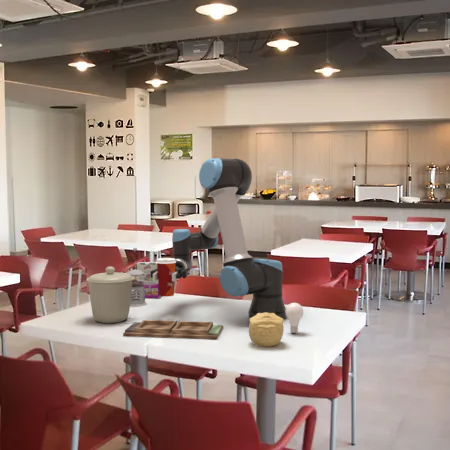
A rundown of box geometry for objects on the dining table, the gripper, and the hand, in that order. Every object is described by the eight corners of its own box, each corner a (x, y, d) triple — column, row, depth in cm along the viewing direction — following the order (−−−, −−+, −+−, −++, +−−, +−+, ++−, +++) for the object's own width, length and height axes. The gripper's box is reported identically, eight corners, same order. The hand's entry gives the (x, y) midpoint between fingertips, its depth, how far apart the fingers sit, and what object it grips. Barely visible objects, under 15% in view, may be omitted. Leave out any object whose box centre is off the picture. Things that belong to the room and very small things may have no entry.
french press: (128, 301, 265) (127, 246, 264) (153, 302, 264) (152, 246, 262) (121, 306, 256) (120, 248, 254) (147, 307, 254) (146, 249, 252)
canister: (111, 312, 243) (110, 262, 241) (144, 318, 233) (143, 265, 231) (77, 321, 228) (76, 267, 227) (110, 328, 218) (109, 271, 216)
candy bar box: (162, 296, 277) (162, 261, 276) (159, 298, 272) (159, 263, 271) (139, 295, 279) (139, 261, 278) (136, 298, 274) (135, 262, 273)
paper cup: (175, 297, 224) (175, 260, 223) (155, 297, 224) (154, 260, 223) (177, 293, 231) (177, 257, 231) (158, 293, 232) (157, 257, 231)
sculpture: (249, 349, 190) (249, 316, 190) (247, 339, 202) (247, 308, 201) (285, 349, 190) (285, 316, 190) (281, 339, 202) (281, 308, 202)
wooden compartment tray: (223, 327, 218) (223, 321, 218) (216, 339, 202) (216, 332, 202) (136, 325, 222) (136, 318, 222) (123, 336, 207) (123, 329, 206)
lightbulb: (298, 336, 206) (298, 305, 205) (282, 334, 209) (282, 303, 208) (306, 332, 211) (306, 302, 210) (289, 330, 214) (290, 300, 213)
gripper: (200, 278, 244) (189, 288, 221) (153, 277, 246) (138, 287, 224) (199, 260, 243) (188, 268, 221) (153, 259, 246) (137, 267, 223)
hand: (163, 277), depth 222 cm, fingers closed on paper cup, 7 cm apart
